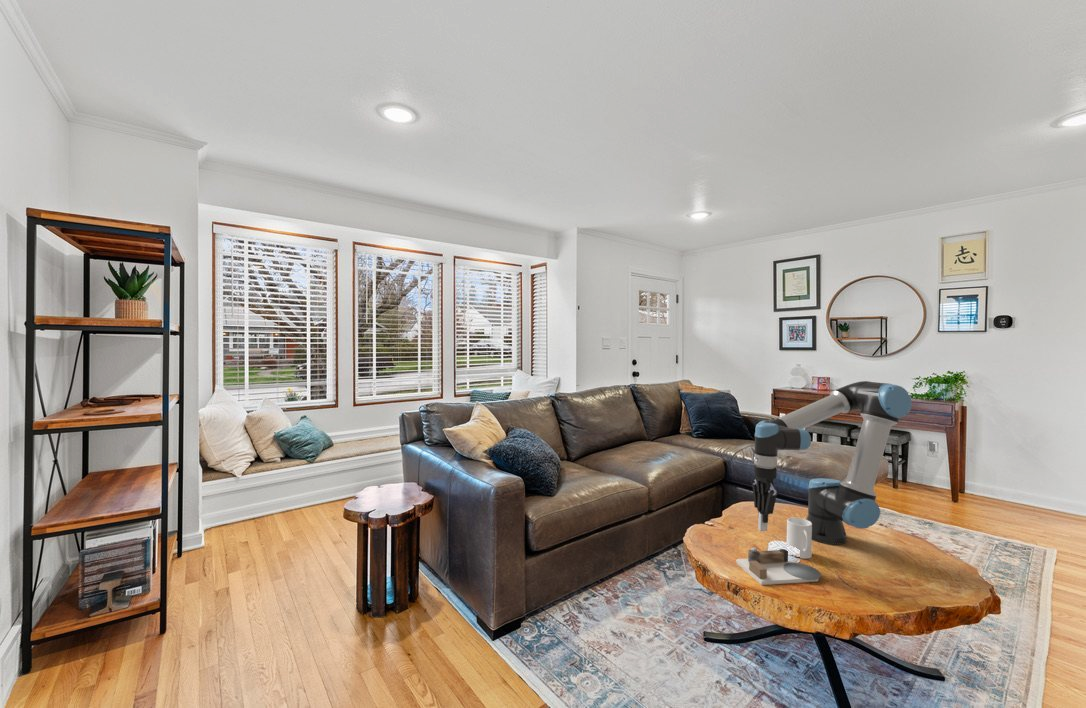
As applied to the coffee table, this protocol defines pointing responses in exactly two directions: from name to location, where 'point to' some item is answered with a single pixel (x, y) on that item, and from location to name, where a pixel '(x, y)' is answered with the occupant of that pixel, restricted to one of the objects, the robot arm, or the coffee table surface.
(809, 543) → the mug
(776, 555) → the leg
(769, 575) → the stand board
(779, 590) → the coffee table surface
